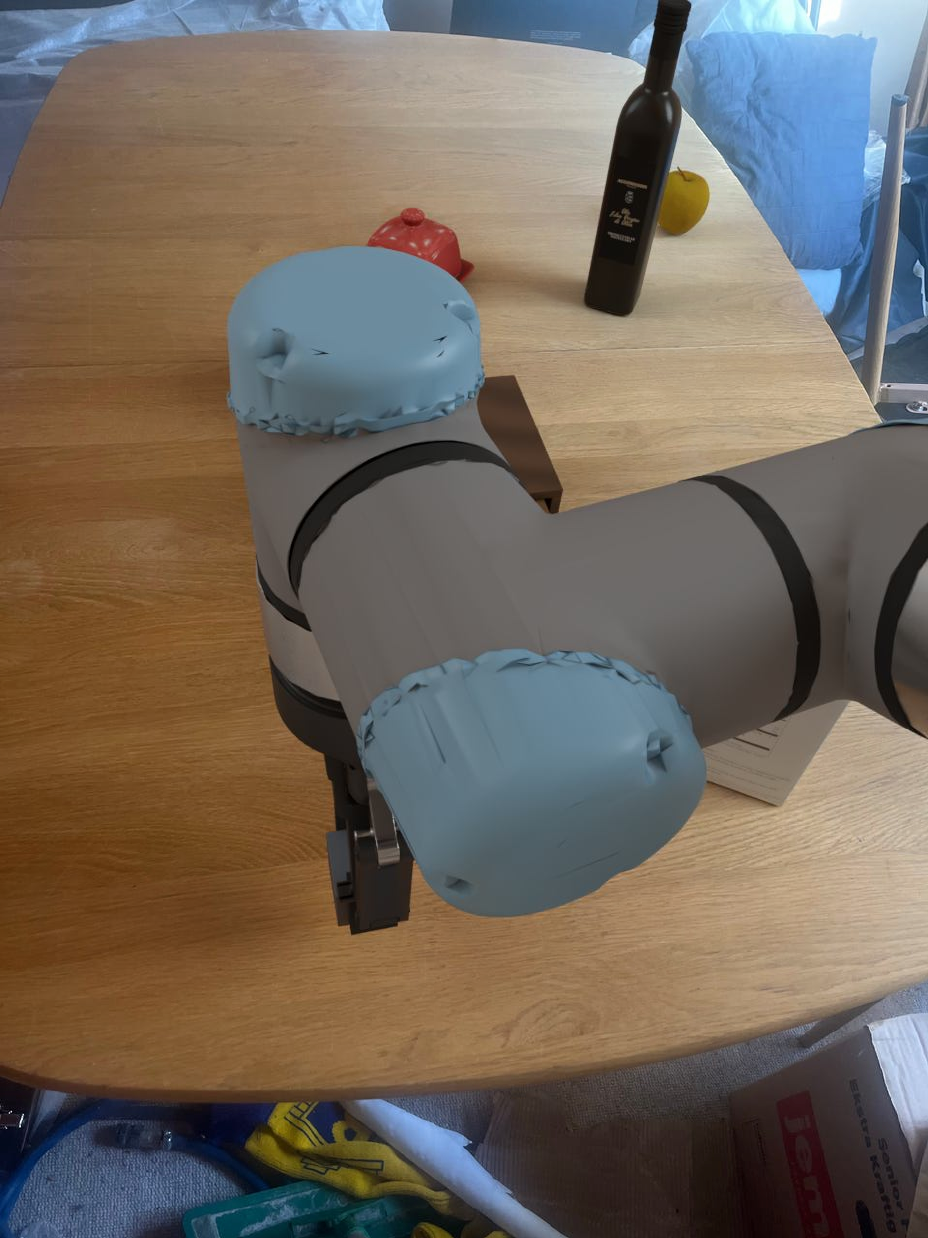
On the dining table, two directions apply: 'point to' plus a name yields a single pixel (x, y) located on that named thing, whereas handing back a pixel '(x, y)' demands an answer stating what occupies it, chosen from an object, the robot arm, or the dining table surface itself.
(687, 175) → the apple
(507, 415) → the cabinet
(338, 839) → the block
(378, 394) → the robot arm
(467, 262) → the butter dish
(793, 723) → the supplement box
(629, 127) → the wine bottle
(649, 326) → the dining table surface
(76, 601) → the dining table surface
